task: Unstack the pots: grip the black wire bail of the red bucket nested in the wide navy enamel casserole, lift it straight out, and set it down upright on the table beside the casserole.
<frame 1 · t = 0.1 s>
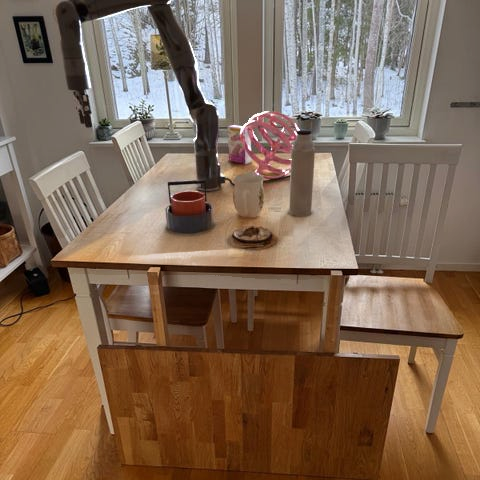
hand: (86, 125, 165), 29 cm above the table, tool pointing down, fingers open, 8 cm apart
spiral basket: (272, 175, 212), on the table
thermos bottle: (300, 212, 171), on the table
pitcher: (248, 216, 168), on the table
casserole: (190, 226, 161), on the table
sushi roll: (252, 240, 150), on the table
red bucket: (190, 225, 161), point 1 cm above the table, touching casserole
candy bar box: (239, 162, 233), on the table
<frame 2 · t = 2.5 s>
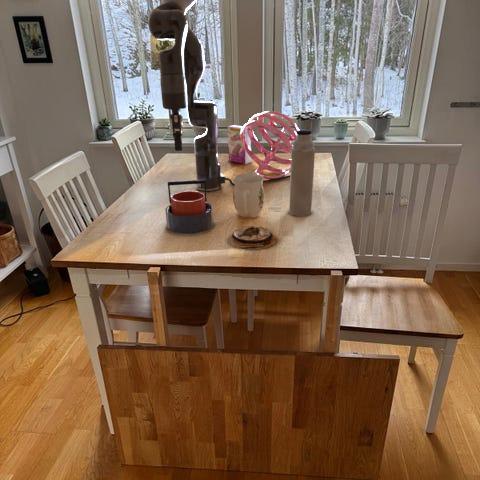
hand: (178, 147, 148), 26 cm above the table, tool pointing down, fingers open, 8 cm apart
nothing on the table moved.
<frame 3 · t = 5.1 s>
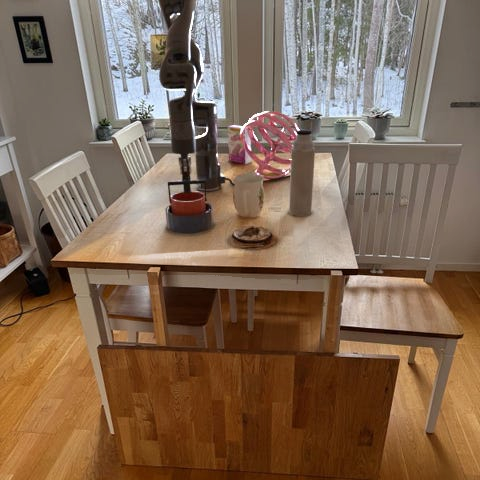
hand: (187, 191, 154), 12 cm above the table, tool pointing down, fingers closed on red bucket
red bucket: (190, 225, 161), point 1 cm above the table, touching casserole, gripper
everything else where it was.
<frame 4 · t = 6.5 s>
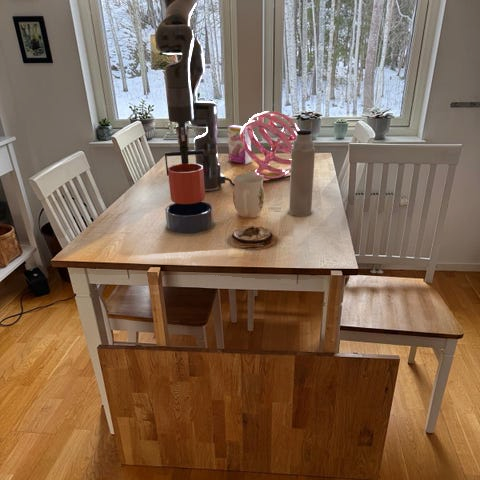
hand: (185, 162, 150), 21 cm above the table, tool pointing down, fingers closed on red bucket
red bucket: (188, 198, 156), point 10 cm above the table, touching gripper
everything else where it was.
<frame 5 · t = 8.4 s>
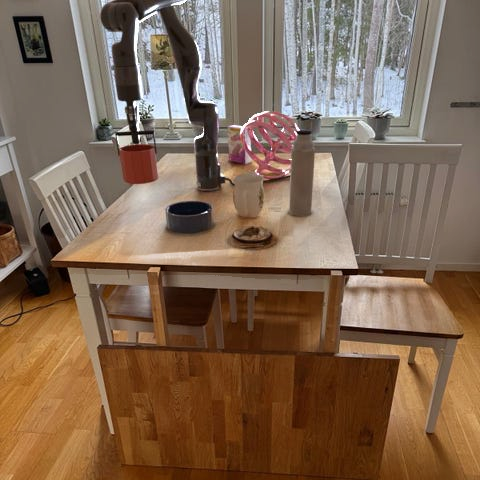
hand: (136, 142, 151), 27 cm above the table, tool pointing down, fingers closed on red bucket
red bucket: (141, 179, 157), point 15 cm above the table, touching gripper
everything else where it was.
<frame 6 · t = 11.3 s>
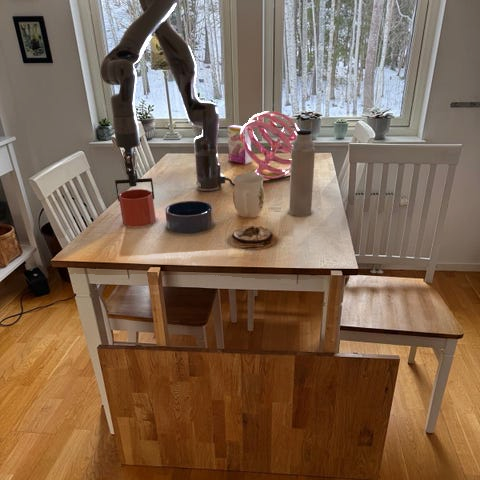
hand: (133, 183, 158), 14 cm above the table, tool pointing down, fingers open, 5 cm apart
red bucket: (139, 222, 166), on the table
everything else where it was.
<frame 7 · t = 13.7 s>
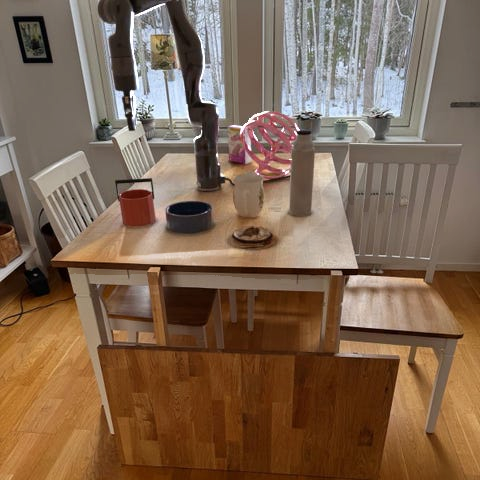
hand: (132, 128, 156), 30 cm above the table, tool pointing down, fingers open, 8 cm apart
nothing on the table moved.
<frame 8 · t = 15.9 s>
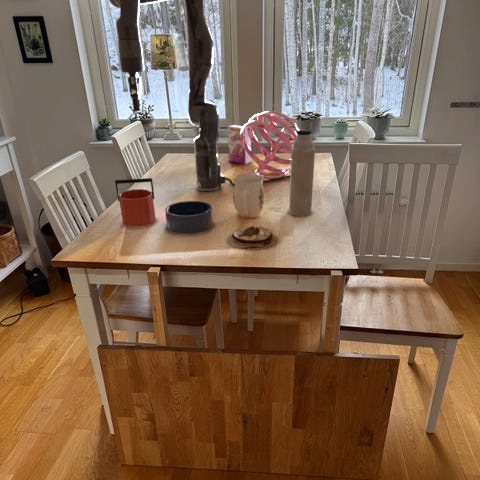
hand: (137, 108, 163), 34 cm above the table, tool pointing down, fingers open, 8 cm apart
nothing on the table moved.
at the end: red bucket inside the target area (0.1 cm from its centre), on the table; red bucket tilted 0°; red bucket touching table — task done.
